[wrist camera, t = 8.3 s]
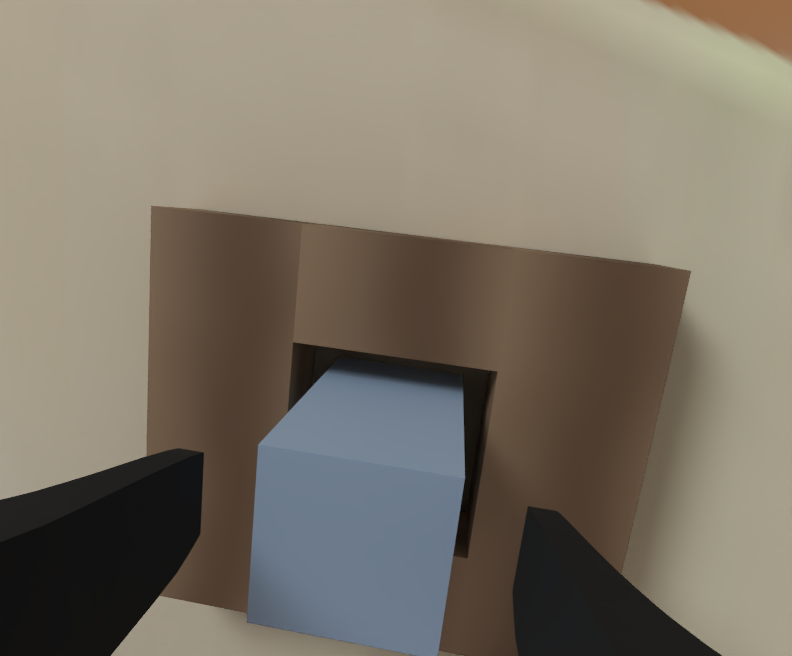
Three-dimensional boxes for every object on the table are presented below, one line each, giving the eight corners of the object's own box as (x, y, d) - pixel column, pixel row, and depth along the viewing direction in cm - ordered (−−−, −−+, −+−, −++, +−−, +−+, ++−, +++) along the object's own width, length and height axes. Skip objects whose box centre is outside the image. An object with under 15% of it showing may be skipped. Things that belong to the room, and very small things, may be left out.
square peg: (329, 469, 18) (246, 622, 11) (339, 356, 17) (258, 444, 10) (445, 489, 17) (437, 659, 10) (462, 374, 16) (464, 478, 10)
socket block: (184, 545, 19) (144, 592, 16) (197, 209, 16) (151, 205, 14) (577, 618, 18) (596, 681, 15) (653, 264, 15) (690, 271, 13)
